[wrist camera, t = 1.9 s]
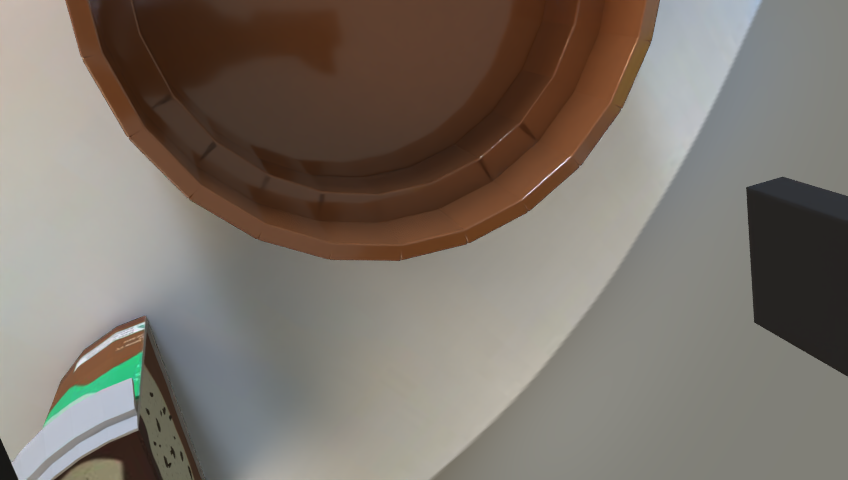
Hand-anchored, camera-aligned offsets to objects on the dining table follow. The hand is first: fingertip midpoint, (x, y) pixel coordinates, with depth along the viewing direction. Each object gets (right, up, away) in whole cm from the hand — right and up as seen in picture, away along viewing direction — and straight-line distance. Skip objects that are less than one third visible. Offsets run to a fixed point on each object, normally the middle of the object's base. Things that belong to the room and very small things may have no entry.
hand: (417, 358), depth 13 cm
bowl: (-3, +12, +16) cm, 20 cm away
